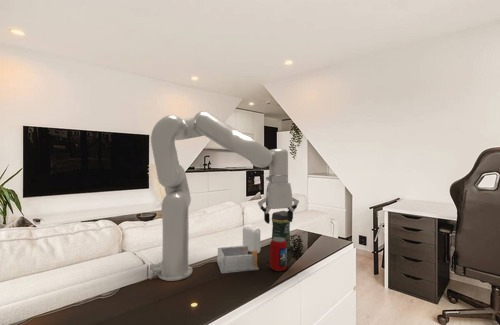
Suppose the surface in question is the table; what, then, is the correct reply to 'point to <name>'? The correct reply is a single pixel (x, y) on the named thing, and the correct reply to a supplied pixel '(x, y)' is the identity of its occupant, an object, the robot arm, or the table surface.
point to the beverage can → (278, 254)
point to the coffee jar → (281, 226)
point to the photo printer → (251, 237)
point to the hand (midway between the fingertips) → (278, 222)
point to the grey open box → (236, 259)
